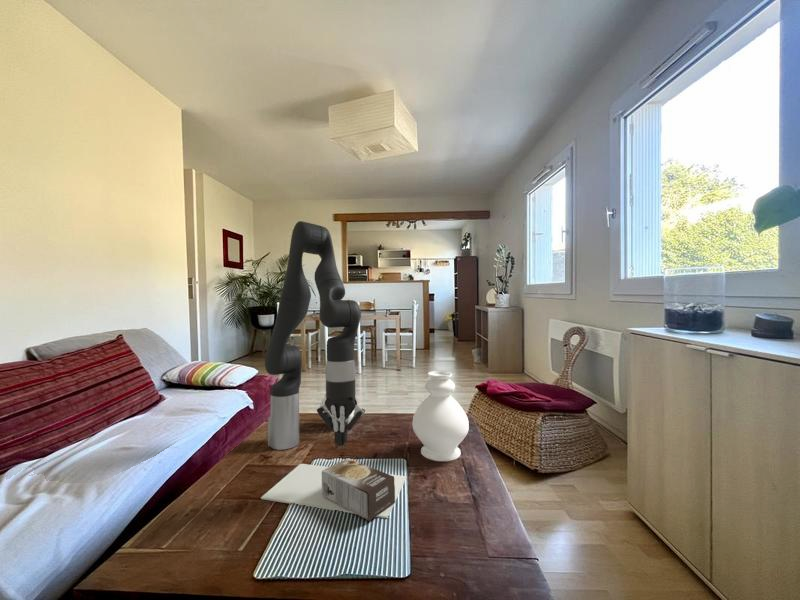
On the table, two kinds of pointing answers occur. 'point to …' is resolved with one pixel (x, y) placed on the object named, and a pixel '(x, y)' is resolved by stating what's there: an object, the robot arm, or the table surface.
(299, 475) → the mat
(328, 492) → the coffee box
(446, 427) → the decorative vase
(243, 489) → the table surface
